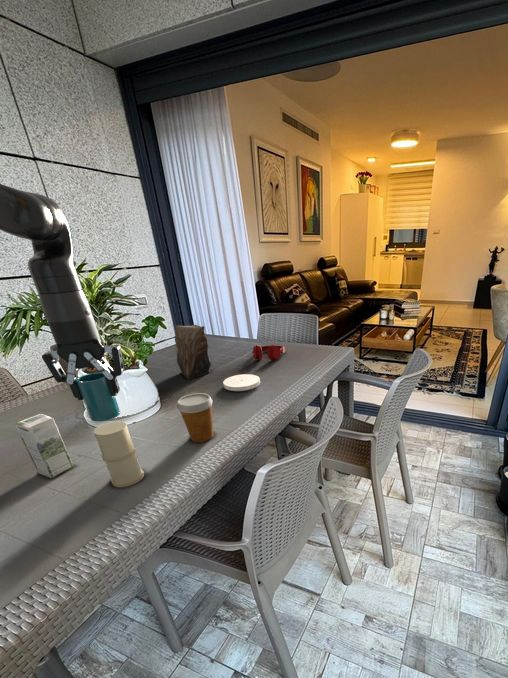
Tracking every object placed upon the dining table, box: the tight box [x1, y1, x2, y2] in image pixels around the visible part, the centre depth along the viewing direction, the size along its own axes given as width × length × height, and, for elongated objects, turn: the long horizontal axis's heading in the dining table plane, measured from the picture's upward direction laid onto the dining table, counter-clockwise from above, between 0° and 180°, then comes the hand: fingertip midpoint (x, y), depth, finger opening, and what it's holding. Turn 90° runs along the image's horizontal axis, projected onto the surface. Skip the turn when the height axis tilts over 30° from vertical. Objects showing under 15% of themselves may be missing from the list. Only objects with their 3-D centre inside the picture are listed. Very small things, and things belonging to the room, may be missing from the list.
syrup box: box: [14, 413, 74, 479], centre depth 86 cm, size 6×6×14 cm
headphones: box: [251, 344, 286, 361], centre depth 171 cm, size 15×7×20 cm
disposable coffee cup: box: [176, 392, 214, 443], centre depth 100 cm, size 10×10×12 cm
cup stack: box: [93, 420, 145, 488], centre depth 82 cm, size 7×7×14 cm
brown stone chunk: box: [174, 324, 212, 380], centre depth 149 cm, size 13×13×20 cm
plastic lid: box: [222, 373, 261, 392], centre depth 136 cm, size 14×14×2 cm
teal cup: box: [76, 372, 121, 423], centre depth 75 cm, size 6×6×9 cm
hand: (98, 396), depth 75 cm, fingers closed on teal cup, 6 cm apart
